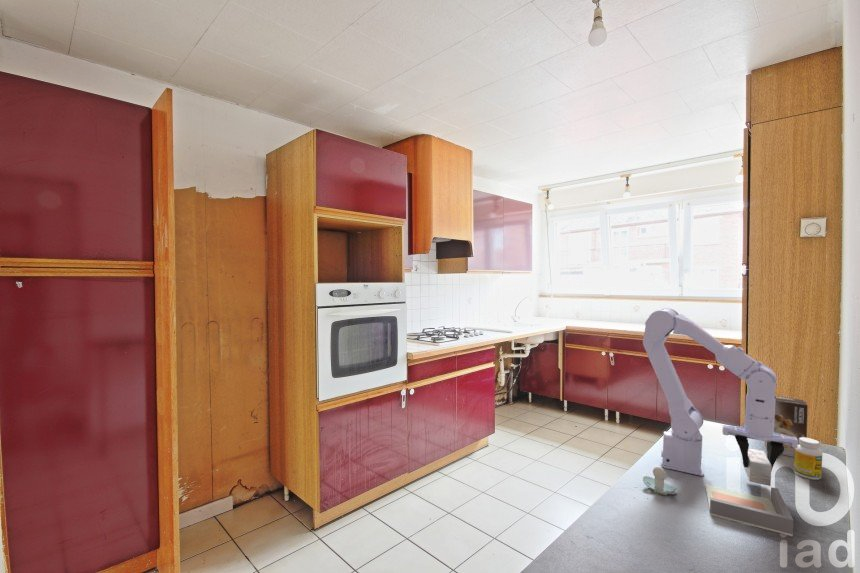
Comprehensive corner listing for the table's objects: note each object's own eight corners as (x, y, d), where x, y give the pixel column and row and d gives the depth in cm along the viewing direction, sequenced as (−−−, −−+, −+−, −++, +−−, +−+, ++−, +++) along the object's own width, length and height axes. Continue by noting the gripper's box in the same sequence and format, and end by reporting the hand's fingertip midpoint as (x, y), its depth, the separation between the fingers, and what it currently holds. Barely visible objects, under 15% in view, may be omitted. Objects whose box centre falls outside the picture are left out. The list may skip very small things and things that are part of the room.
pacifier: (650, 481, 105) (639, 488, 101) (651, 457, 105) (641, 463, 101) (681, 493, 99) (671, 501, 96) (682, 468, 99) (673, 475, 96)
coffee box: (802, 452, 122) (805, 399, 122) (806, 460, 117) (809, 405, 116) (763, 444, 128) (765, 394, 127) (765, 451, 122) (767, 399, 122)
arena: (710, 514, 90) (710, 499, 90) (705, 485, 103) (705, 472, 102) (792, 536, 83) (793, 520, 83) (776, 502, 95) (777, 488, 95)
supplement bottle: (797, 468, 112) (799, 434, 112) (823, 476, 108) (825, 441, 107) (790, 473, 109) (792, 438, 109) (817, 482, 105) (819, 446, 104)
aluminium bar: (770, 486, 97) (771, 465, 97) (749, 481, 99) (750, 461, 99) (763, 470, 105) (763, 451, 105) (743, 466, 107) (744, 447, 107)
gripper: (725, 414, 101) (723, 467, 102) (802, 426, 94) (799, 483, 95) (722, 406, 108) (720, 456, 108) (794, 416, 100) (791, 470, 101)
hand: (756, 468), depth 102 cm, fingers closed on aluminium bar, 4 cm apart
